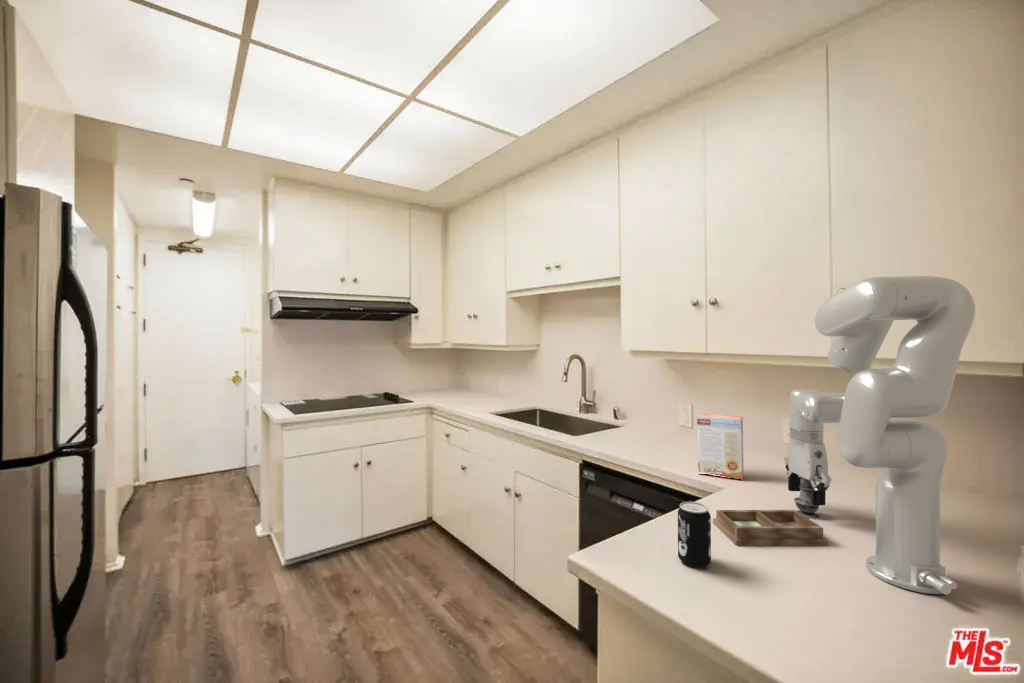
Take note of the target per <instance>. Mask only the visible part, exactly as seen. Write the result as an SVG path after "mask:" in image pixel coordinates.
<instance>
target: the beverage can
mask: <svg viewBox="0 0 1024 683" xmlns="http://www.w3.org/2000/svg"><path fill="white" fill-rule="evenodd" d="M711 517H712V516H711V514H710V512H709V507H708V506H707V505H706V504H703V503H700V502H696V501H682V502H681V503H680V504H679V508H678V510H677V556H678V559H679V560H680V561H681V563H682V564H684V565H685V566H688V567H691V568H694V569H705V568H707V567H708V566H709V565H710V564H711V563H712V534H711V533H712V532H711V531H712V530H711V529H712V526H711V524H712V518H711Z"/></svg>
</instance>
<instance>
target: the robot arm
mask: <svg viewBox="0 0 1024 683" xmlns="http://www.w3.org/2000/svg"><path fill="white" fill-rule="evenodd" d="M975 316H976V305H975V300H974V298H973V296H972V294H971V293H970V291H969V289H967V287H965V286H964V285H963V284H962V283H960V282H959V281H956V280H954V279H950V278H946V277H941V276H934V275H933V276H931V275H911V276H909V275H908V276H905V275H904V276H875V277H874V276H873V277H869V278H864V279H861V280H859V281H856V282H855V283H853V284H851V285H849V286H848V287H845V288H844V289H843V290H841V291H838V292H837V293H835V294H834V295H831V296H830V297H829V298H827V299H826V300H824V302H823V303H821V305H820V306H819V307H818V309H817V310H816V313H815V316H814V317H815V318H814V325H815V328H816V330H817V331H818V333H820V334H821V335H822V336H826V337H833V341H832V343H831V345H830V348H829V350H828V352H827V354H826V355H827V356H826V358H827V360H828V362H829V363H830V364H831V365H832V366H834V367H835V368H836V369H838V370H840V371H842V372H845V373H846V374H847V373H848V374H850V375H853V376H852V378H850V380H849V381H848V383H847V386H846V389H845V392H822V391H820V390H817V389H812V388H811V389H810V388H797V389H796V388H795V389H792V391H791V392H790V394H789V442H788V452H787V456H785V457H784V458H783V459H784V463H785V469H786V471H787V472H786V475H787V478H788V480H787V482H788V483H787V490H788V491H790V492H800V488H799V486H800V485H801V477H803V478H805V479H807V480H809V481H810V482H811V484H812V486H813V489H814V490H812V505H820V506H826V492H827V491H828V489H829V488H830V484H831V482H832V478H831V476H830V475H829V465H828V456H827V455H828V453H827V448H826V445H825V443H824V425H825V424H839V425H838V430H837V431H838V432H837V448H838V450H839V451H838V452H839V453H840V455H841V456H842V458H843V459H844V460H845V461H846V462H847V463H849V464H850V465H852V466H854V467H857V468H862V469H863V468H864V469H881V471H880V472H879V473H878V476H877V480H876V482H875V555H871V556H869V557H868V558H866V561H865V564H866V568H867V570H868V571H869V572H870V573H871V574H873V575H874V576H876V577H877V578H879V579H880V580H882V581H884V582H886V583H888V584H891V585H894V586H896V587H899V588H901V589H905V590H908V591H912V592H916V593H920V594H928V595H947V596H948V595H950V594H951V593H952V590H956V589H957V588H958V582H956V581H954V580H953V579H950V578H949V577H948V576H947V575H946V566H944V565H942V564H941V491H942V490H941V487H942V477H943V473H944V470H945V465H946V462H947V458H948V451H949V447H948V446H949V445H948V442H947V438H946V437H945V435H944V434H943V432H942V431H941V430H940V429H939V428H938V427H936V426H935V425H933V424H931V423H930V422H927V421H923V420H918V419H912V418H926V417H935V416H937V415H939V414H941V413H943V412H944V411H945V409H946V408H947V406H948V404H949V400H950V398H951V394H952V390H953V385H954V383H955V378H956V374H957V370H958V367H959V361H960V356H961V353H962V349H963V347H964V345H965V342H966V340H967V338H968V336H969V334H970V331H971V328H972V326H973V322H974V321H975V320H974V319H975ZM904 320H905V321H909V320H911V321H913V320H915V321H916V322H917V323H916V324H915V325H914V326H913V327H912V328H910V329H909V330H908V332H907V333H906V334H905V335H904V336H903V338H902V340H901V341H900V343H899V345H898V349H897V354H896V358H895V361H894V364H893V365H892V366H891V367H890V368H889V367H887V368H885V367H884V368H883V367H881V368H877V367H876V368H872V365H873V363H874V361H875V359H876V357H877V356H878V353H879V351H880V349H881V348H882V345H883V343H884V341H885V339H886V337H887V335H888V334H889V331H890V329H891V327H892V325H893V324H894V321H904ZM817 482H818V484H817Z"/></svg>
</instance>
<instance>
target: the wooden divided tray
mask: <svg viewBox="0 0 1024 683" xmlns="http://www.w3.org/2000/svg"><path fill="white" fill-rule="evenodd" d="M797 511H798V510H795V509H716V510H715V513H716V515H715V516H716V517H715V518H712V523H713V525H714V526H716V527H717V528H718V530H720V532H722V534H724V536H726V537H727V538H728V539H729V540H730V541H731V542H732V543H733V544H734V545H735V546H736V545H762V546H829V543H828V541H829V540H828V539H827V538H826V537H824V527H823V526H821V525H819V524H818V523H816V522H815V521H813V520H812V519H809V518H807V517H805V516H804V515H802V514H800V513H799V512H797Z"/></svg>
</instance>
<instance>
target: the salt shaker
mask: <svg viewBox="0 0 1024 683" xmlns="http://www.w3.org/2000/svg"><path fill="white" fill-rule="evenodd" d="M800 477H801V476H800ZM799 488H800V491H799V492H800V493H799V496H798V497H795V498H794V499H793V500H794V502H795V506H796V508H797V509H798V510H796V511H797V512H799V513H800V514H802V515H804V516H805V517H807V518H808V519H809V518H810V520H816V518H817V519H819V518H820V515H819V514H818V513H816V512H817V511H819V510H818V509H819V508H820V506H821V505H812V490H814V489H813V486H812V484H811V482H810V481H809V480H807V479H805V478H803V477H801V485H800V486H799Z"/></svg>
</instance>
